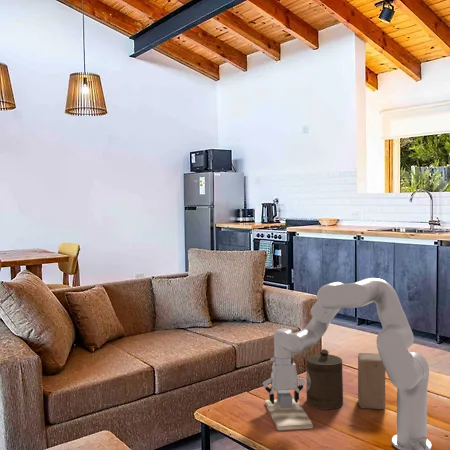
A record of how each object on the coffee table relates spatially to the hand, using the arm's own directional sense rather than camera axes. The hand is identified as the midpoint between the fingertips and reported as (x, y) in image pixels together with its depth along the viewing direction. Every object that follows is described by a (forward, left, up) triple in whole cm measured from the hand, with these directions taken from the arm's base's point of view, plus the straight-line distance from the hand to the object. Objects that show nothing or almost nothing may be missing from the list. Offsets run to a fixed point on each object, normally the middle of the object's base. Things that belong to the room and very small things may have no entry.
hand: (284, 402), depth 200 cm
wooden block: (-1, -36, -3) cm, 36 cm away
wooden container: (+4, -18, -3) cm, 19 cm away
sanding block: (0, 0, -1) cm, 1 cm away
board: (-6, 0, -3) cm, 7 cm away
